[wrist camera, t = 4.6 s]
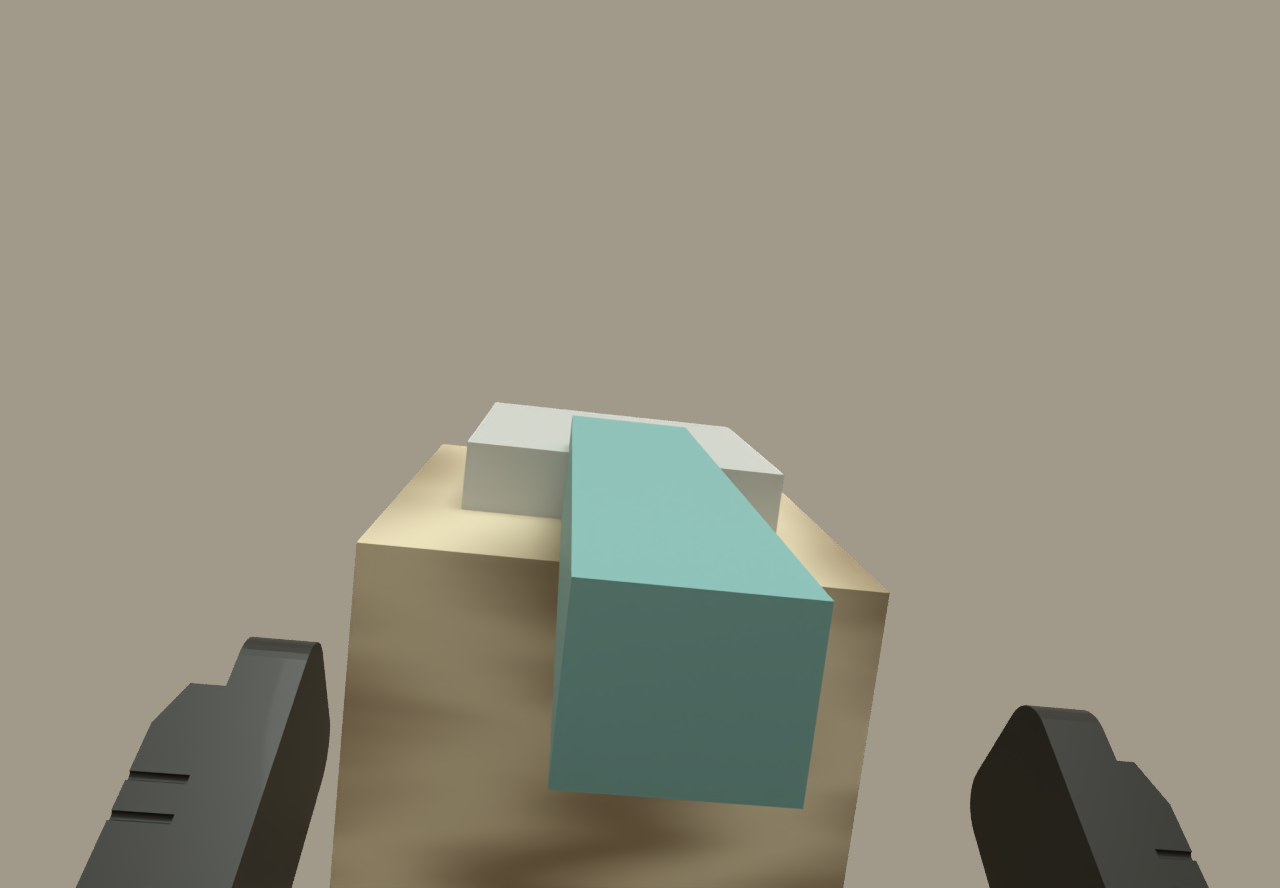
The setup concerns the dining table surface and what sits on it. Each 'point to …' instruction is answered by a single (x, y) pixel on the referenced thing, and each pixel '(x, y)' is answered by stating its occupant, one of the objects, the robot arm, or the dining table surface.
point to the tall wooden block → (521, 721)
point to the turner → (664, 604)
